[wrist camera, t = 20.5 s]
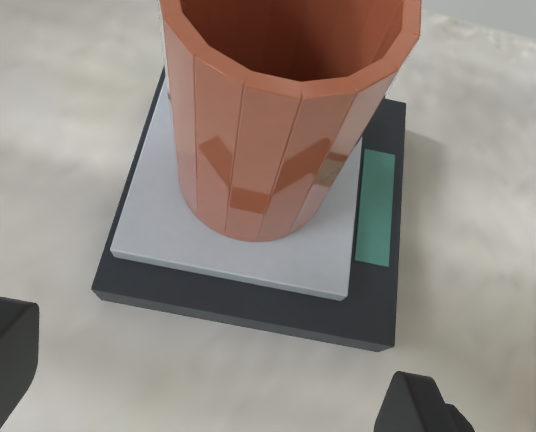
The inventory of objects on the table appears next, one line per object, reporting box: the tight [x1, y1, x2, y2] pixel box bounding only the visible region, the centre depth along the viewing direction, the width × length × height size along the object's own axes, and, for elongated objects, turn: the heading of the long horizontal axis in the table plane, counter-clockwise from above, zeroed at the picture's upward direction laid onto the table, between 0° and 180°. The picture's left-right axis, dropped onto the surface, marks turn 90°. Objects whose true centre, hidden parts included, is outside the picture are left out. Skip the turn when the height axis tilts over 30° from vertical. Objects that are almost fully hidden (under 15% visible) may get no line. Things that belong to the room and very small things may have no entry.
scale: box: [91, 66, 406, 352], centre depth 22 cm, size 13×13×3 cm
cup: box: [157, 0, 421, 242], centre depth 16 cm, size 7×7×10 cm
